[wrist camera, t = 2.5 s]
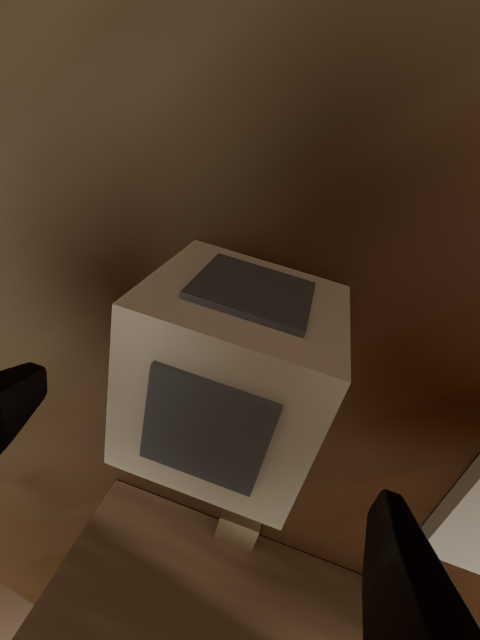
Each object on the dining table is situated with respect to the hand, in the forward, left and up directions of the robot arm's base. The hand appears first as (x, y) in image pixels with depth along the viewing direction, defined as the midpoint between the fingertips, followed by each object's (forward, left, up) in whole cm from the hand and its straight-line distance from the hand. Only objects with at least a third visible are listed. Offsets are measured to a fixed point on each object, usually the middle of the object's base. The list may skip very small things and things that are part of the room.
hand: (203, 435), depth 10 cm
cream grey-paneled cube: (0, 0, -6) cm, 6 cm away
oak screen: (-12, -3, -6) cm, 14 cm away
